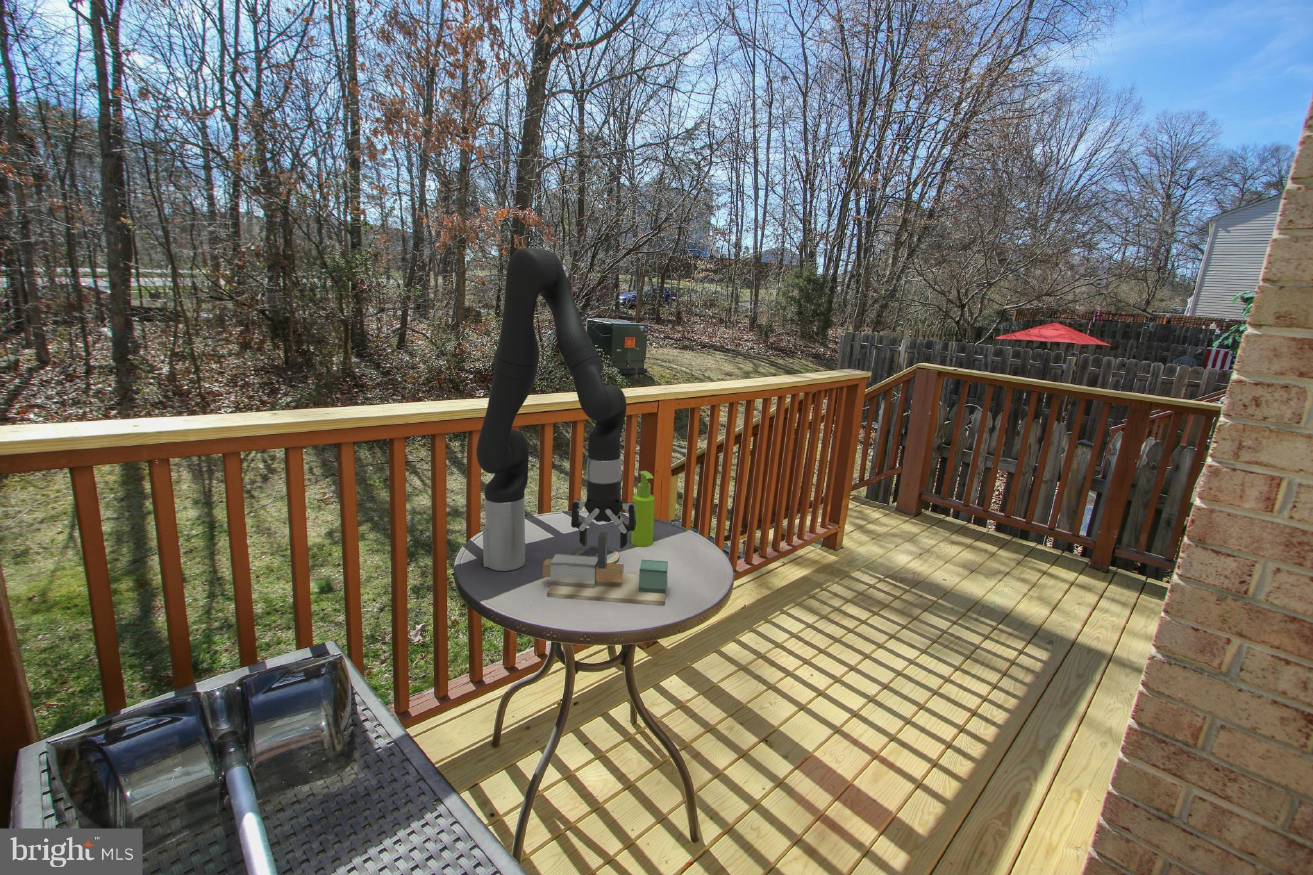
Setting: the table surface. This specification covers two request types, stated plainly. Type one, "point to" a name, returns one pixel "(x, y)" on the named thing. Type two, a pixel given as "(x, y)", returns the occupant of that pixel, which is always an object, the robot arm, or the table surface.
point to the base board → (610, 592)
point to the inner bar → (598, 564)
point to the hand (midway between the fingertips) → (603, 546)
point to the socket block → (653, 576)
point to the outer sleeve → (573, 570)
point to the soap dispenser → (643, 513)
